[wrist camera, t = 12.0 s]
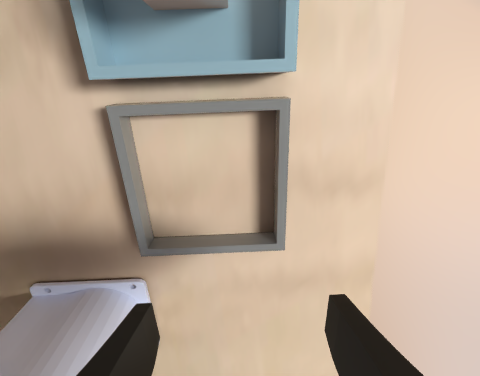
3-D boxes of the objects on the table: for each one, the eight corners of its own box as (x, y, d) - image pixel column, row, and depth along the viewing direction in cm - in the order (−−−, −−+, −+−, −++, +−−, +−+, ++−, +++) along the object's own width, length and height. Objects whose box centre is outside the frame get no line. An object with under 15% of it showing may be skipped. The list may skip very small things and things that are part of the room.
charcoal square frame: (147, 244, 20) (141, 256, 19) (116, 103, 16) (105, 106, 15) (281, 238, 20) (284, 250, 19) (285, 96, 16) (290, 98, 15)
